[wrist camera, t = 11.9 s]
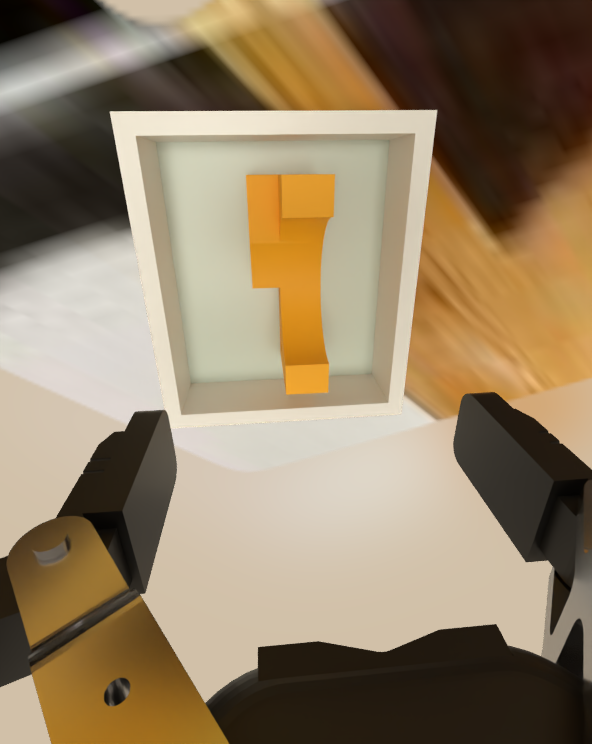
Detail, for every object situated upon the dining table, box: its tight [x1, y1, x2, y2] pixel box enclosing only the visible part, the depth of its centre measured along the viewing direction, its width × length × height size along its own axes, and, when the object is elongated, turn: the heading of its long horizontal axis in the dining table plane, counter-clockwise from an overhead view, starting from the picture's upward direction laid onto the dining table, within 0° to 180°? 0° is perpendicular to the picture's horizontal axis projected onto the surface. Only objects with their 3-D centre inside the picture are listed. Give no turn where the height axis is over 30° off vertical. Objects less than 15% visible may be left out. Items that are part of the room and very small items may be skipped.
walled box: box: [110, 110, 437, 428], centre depth 26 cm, size 16×18×6 cm
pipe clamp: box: [246, 174, 335, 395], centre depth 25 cm, size 12×4×6 cm, turn 0°
